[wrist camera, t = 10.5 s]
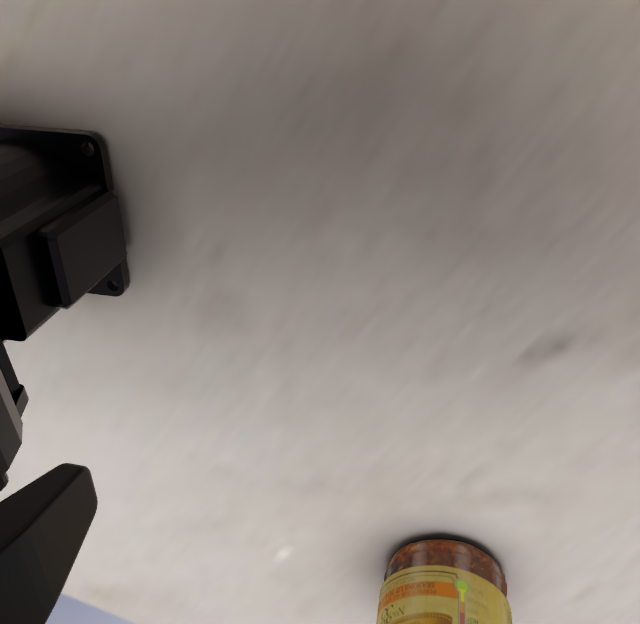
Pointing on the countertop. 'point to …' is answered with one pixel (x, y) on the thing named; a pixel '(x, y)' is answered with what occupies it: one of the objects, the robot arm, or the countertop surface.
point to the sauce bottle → (443, 586)
